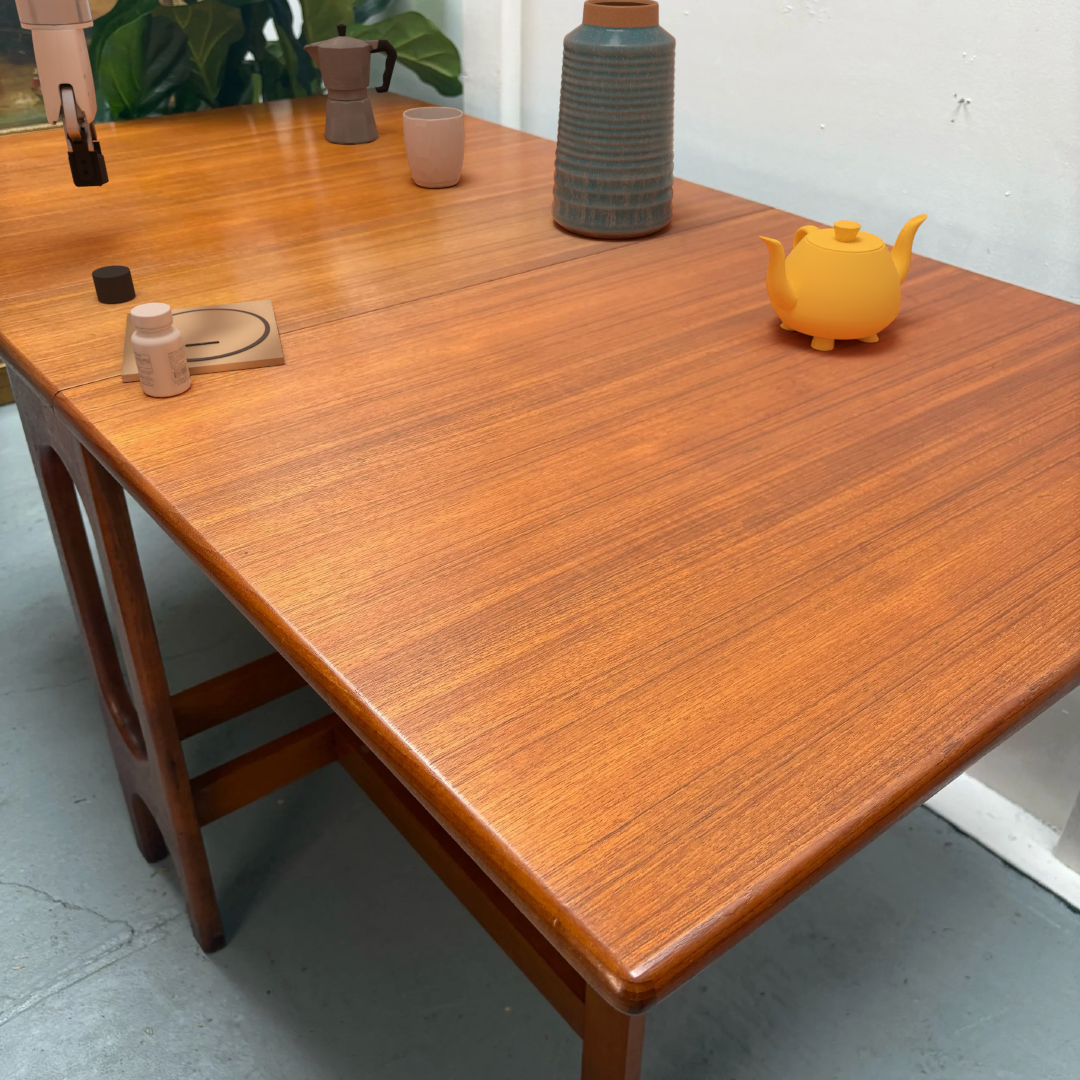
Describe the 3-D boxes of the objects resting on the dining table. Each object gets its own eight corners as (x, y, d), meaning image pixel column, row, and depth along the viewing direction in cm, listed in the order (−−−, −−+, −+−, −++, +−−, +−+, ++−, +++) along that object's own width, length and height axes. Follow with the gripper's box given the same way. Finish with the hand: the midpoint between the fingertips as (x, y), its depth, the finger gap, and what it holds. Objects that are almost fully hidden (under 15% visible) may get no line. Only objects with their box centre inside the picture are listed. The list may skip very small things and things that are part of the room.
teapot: (857, 293, 117) (877, 191, 110) (946, 341, 105) (973, 230, 99) (705, 317, 110) (716, 210, 104) (782, 371, 99) (800, 255, 92)
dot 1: (72, 187, 122) (66, 161, 120) (75, 179, 125) (69, 153, 123) (108, 185, 123) (102, 159, 121) (109, 177, 126) (104, 152, 124)
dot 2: (97, 305, 112) (90, 279, 111) (99, 292, 115) (92, 267, 114) (135, 301, 113) (129, 275, 111) (136, 289, 116) (130, 263, 115)
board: (122, 382, 96) (120, 372, 95) (128, 320, 109) (126, 310, 108) (284, 364, 100) (283, 354, 99) (272, 306, 112) (270, 296, 112)
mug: (475, 186, 153) (473, 115, 147) (419, 193, 149) (414, 121, 144) (443, 167, 162) (440, 99, 156) (390, 173, 159) (385, 104, 153)
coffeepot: (310, 145, 173) (297, 28, 163) (316, 132, 181) (303, 20, 171) (401, 144, 174) (394, 27, 164) (403, 131, 182) (395, 19, 172)
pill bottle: (191, 375, 97) (175, 297, 93) (192, 395, 94) (176, 315, 90) (142, 381, 96) (124, 302, 92) (142, 401, 93) (123, 320, 88)
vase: (545, 239, 132) (547, 8, 117) (557, 203, 146) (560, -8, 131) (671, 244, 131) (689, 11, 116) (672, 208, 144) (688, -5, 129)
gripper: (27, 4, 119) (64, 166, 129) (8, 21, 106) (51, 200, 116) (95, 4, 121) (126, 163, 131) (85, 20, 108) (120, 197, 118)
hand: (90, 179), depth 123 cm, fingers closed on dot 1, 4 cm apart
